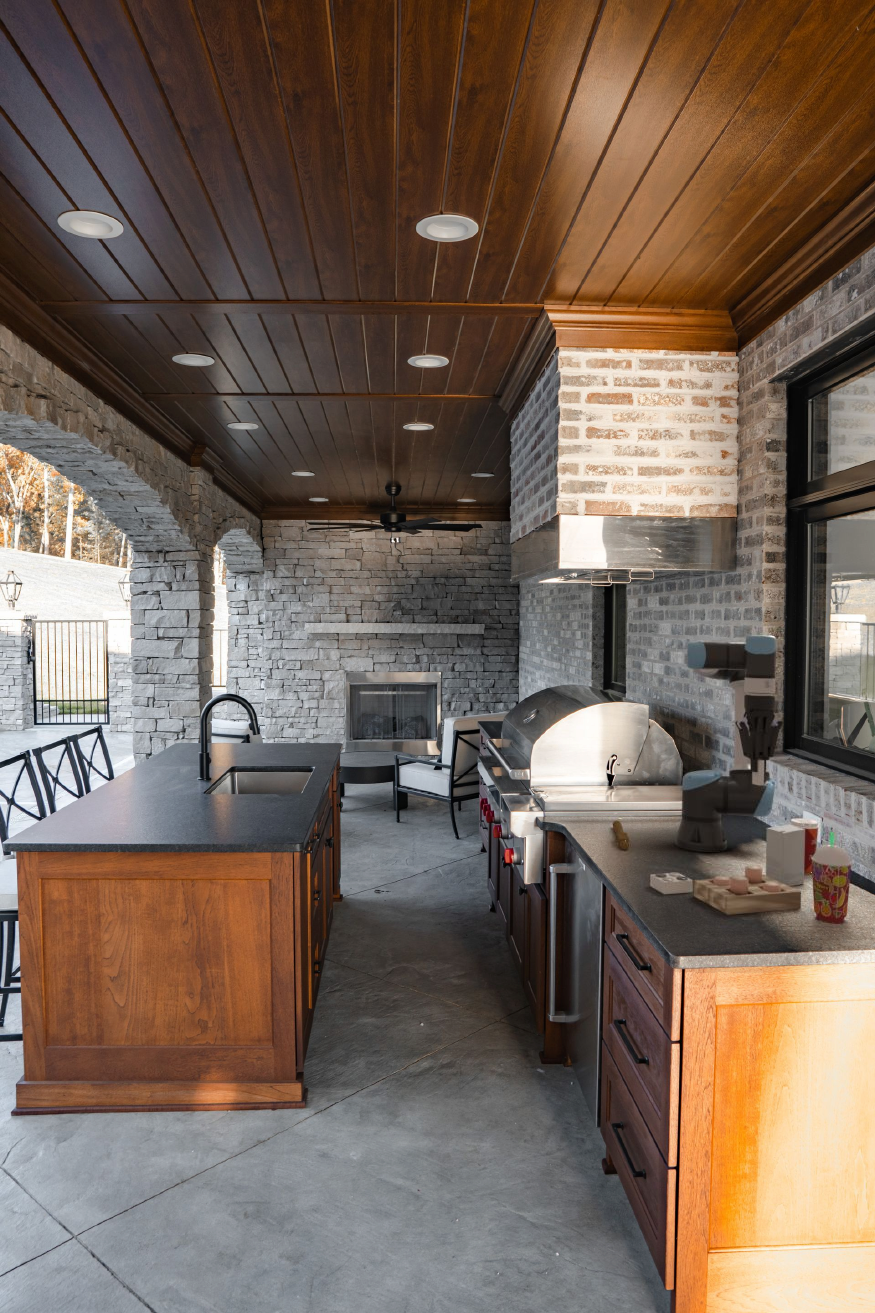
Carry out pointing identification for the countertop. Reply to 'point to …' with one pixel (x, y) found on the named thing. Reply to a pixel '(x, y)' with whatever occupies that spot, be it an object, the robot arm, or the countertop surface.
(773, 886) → the button
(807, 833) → the paper cup
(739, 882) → the button
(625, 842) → the tap handle
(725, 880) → the button
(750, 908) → the board
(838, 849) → the smoothie
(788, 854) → the skincare box
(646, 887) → the countertop surface
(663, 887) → the white flat block
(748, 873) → the button
